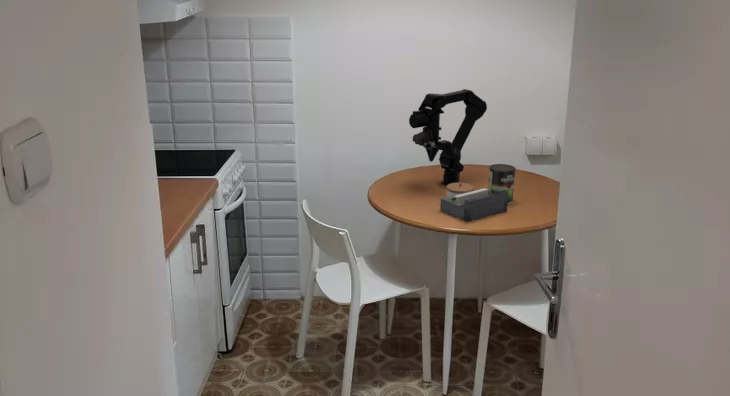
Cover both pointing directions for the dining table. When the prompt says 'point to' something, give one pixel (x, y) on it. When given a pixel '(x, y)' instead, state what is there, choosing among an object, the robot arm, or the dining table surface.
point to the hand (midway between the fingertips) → (431, 161)
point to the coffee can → (502, 179)
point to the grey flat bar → (470, 195)
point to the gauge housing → (476, 206)
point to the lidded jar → (458, 189)
